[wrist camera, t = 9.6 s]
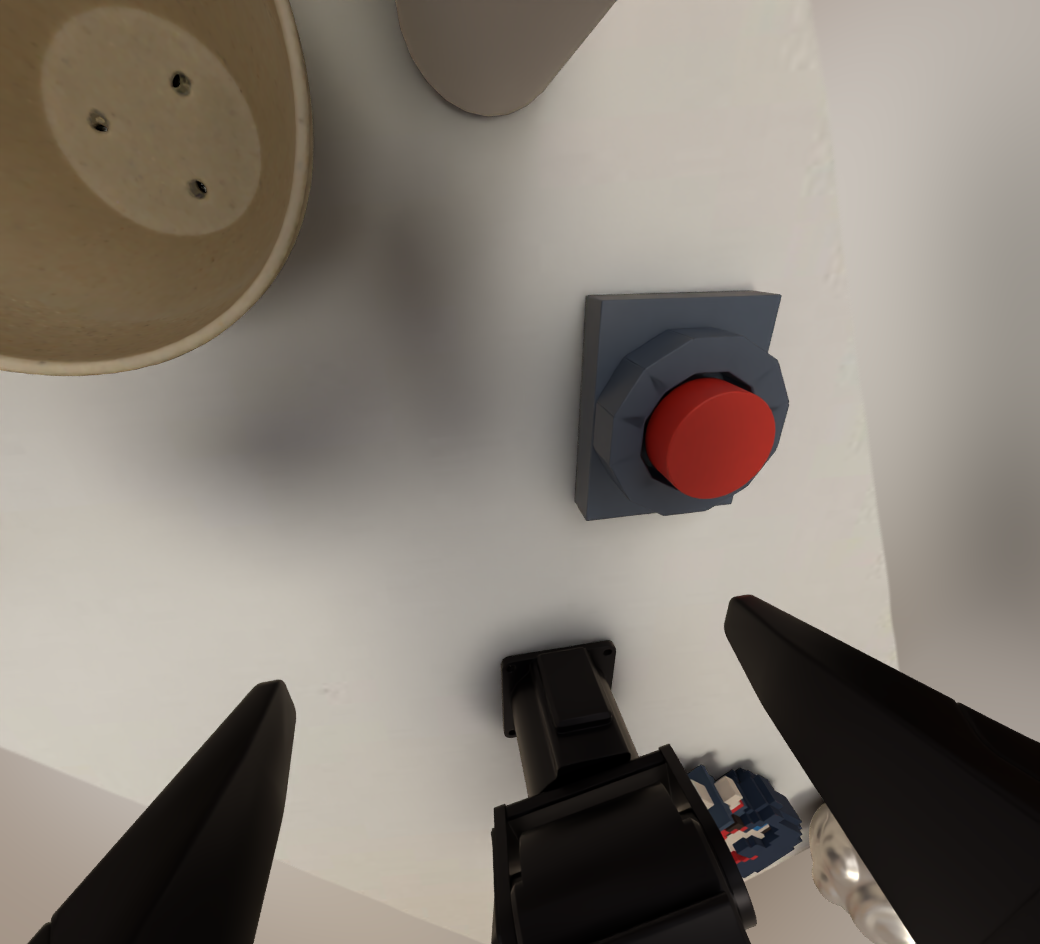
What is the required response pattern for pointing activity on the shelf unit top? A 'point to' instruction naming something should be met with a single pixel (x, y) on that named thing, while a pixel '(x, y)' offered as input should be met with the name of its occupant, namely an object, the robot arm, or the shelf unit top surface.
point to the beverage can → (495, 46)
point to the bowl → (144, 175)
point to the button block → (662, 386)
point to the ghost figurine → (851, 882)
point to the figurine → (749, 817)
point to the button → (709, 437)
